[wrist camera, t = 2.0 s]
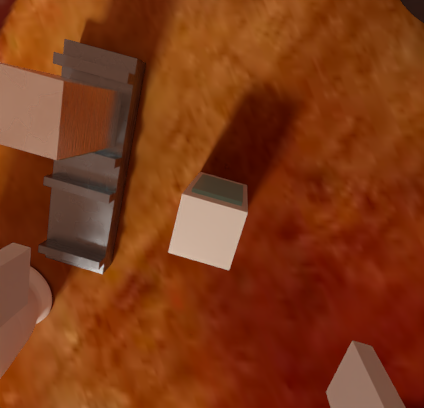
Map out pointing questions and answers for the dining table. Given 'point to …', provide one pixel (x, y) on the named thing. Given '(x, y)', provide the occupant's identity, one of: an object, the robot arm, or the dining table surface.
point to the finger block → (210, 220)
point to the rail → (94, 170)
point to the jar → (24, 320)
